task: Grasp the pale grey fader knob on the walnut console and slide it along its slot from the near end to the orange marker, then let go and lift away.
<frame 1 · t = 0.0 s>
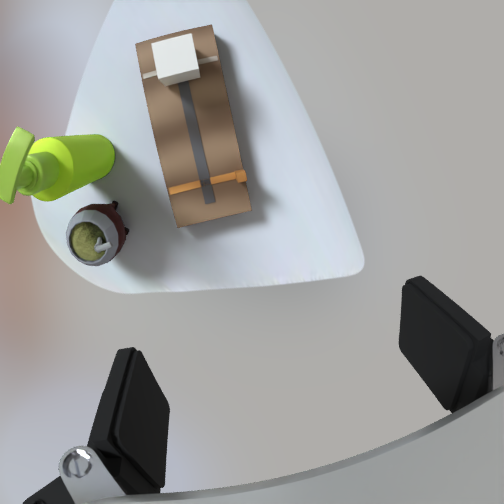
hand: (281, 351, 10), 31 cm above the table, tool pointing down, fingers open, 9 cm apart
soap dispenser: (96, 153, 35), on the table
fader console: (193, 124, 36), on the table
mate gourd: (111, 219, 39), on the table
fader knob: (177, 61, 28), point 6 cm above the table, slide at -7.0 cm
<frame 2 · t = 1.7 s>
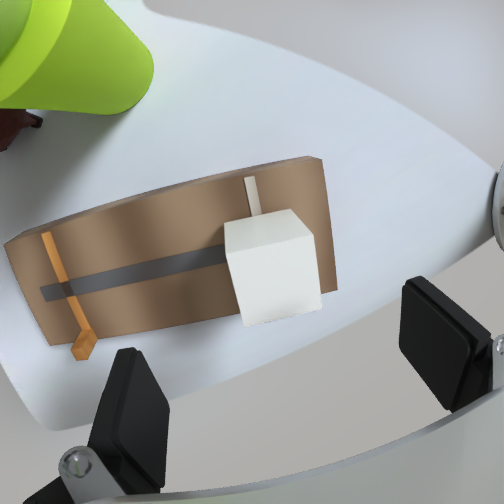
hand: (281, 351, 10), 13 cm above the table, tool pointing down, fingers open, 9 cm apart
soap dispenser: (119, 77, 18), on the table
fader console: (162, 251, 23), on the table
mate gourd: (18, 116, 18), on the table
fader knob: (269, 262, 17), point 6 cm above the table, slide at -7.0 cm
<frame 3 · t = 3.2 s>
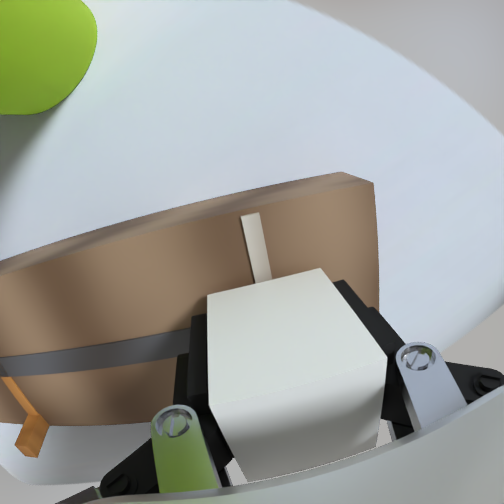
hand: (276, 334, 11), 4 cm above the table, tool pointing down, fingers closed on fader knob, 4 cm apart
soap dispenser: (49, 57, 10), on the table
fader console: (121, 317, 14), on the table
fader knob: (288, 372, 9), point 6 cm above the table, slide at -7.0 cm, touching gripper
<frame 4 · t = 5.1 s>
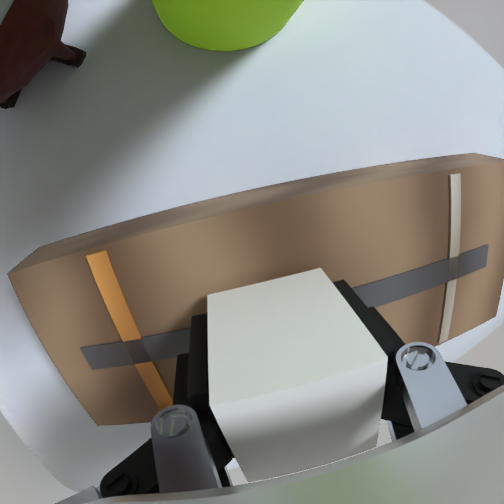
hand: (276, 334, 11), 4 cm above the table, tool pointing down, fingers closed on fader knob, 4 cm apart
fader console: (292, 279, 15), on the table
mate gourd: (40, 52, 10), on the table
fader knob: (288, 372, 9), point 6 cm above the table, slide at 1.5 cm, touching gripper
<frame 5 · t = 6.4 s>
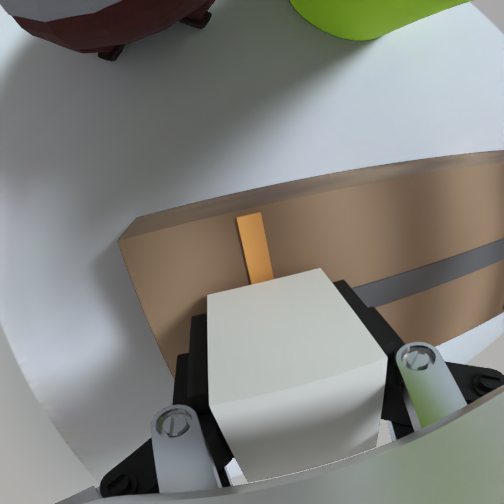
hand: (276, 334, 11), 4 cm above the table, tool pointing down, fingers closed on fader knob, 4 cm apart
fader console: (393, 252, 15), on the table
mate gourd: (150, 8, 10), on the table
fader knob: (288, 372, 9), point 6 cm above the table, slide at 7.0 cm, touching gripper
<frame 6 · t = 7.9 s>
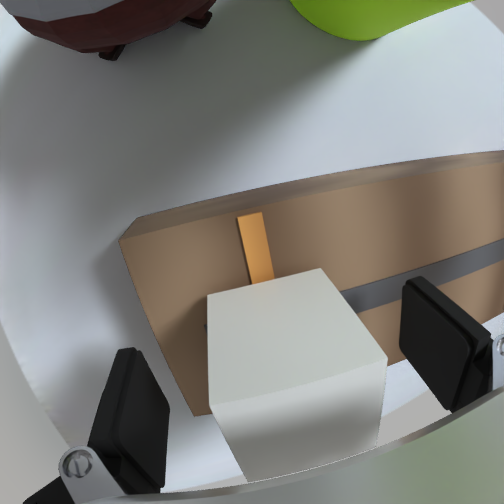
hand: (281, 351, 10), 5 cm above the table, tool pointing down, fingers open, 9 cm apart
fader console: (394, 252, 15), on the table
mate gourd: (151, 8, 10), on the table
fader knob: (288, 372, 9), point 6 cm above the table, slide at 7.0 cm
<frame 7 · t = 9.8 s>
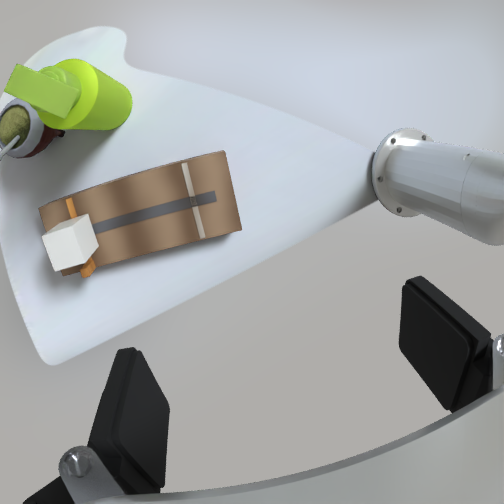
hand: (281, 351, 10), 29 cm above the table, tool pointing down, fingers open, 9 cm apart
soap dispenser: (112, 107, 31), on the table
fader console: (138, 211, 36), on the table
mate gourd: (48, 129, 31), on the table
fader knob: (71, 241, 30), point 6 cm above the table, slide at 7.0 cm
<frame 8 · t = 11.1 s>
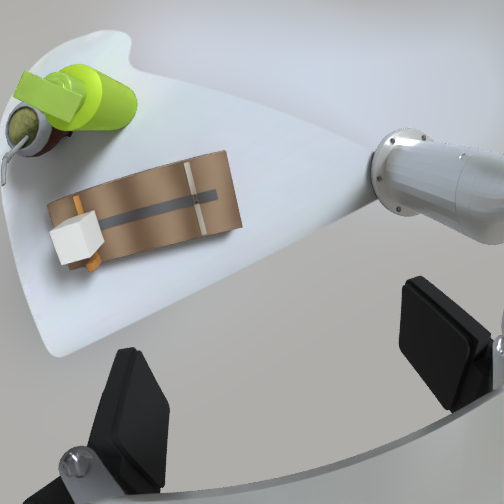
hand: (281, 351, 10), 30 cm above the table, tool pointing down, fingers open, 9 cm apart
soap dispenser: (118, 108, 33), on the table
fader console: (142, 208, 38), on the table
mate gourd: (56, 129, 33), on the table
fader knob: (77, 236, 32), point 6 cm above the table, slide at 7.0 cm
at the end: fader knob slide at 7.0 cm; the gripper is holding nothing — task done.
